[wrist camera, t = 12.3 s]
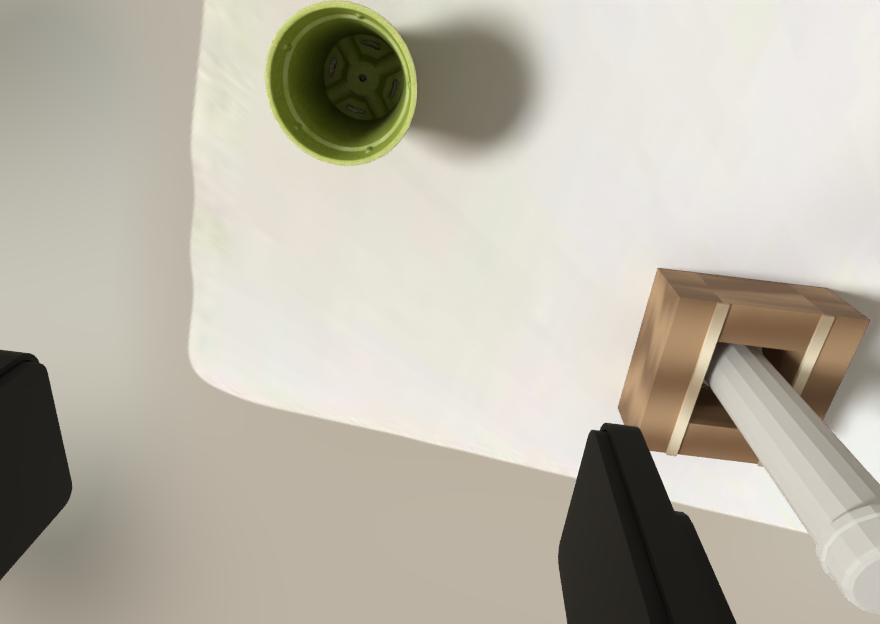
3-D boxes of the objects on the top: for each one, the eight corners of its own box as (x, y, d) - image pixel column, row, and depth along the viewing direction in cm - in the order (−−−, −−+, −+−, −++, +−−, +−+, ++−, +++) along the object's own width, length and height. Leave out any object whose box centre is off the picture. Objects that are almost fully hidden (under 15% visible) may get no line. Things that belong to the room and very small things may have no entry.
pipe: (763, 334, 50) (1101, 687, 24) (715, 388, 53) (972, 761, 26) (711, 307, 50) (1001, 641, 23) (665, 362, 52) (877, 722, 25)
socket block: (657, 268, 48) (681, 299, 43) (826, 288, 48) (872, 322, 43) (617, 407, 54) (634, 451, 49) (767, 425, 54) (801, 471, 49)
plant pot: (443, 30, 42) (435, 29, 34) (409, 158, 46) (395, 184, 38) (315, -11, 41) (278, -23, 33) (292, 122, 45) (254, 141, 37)
